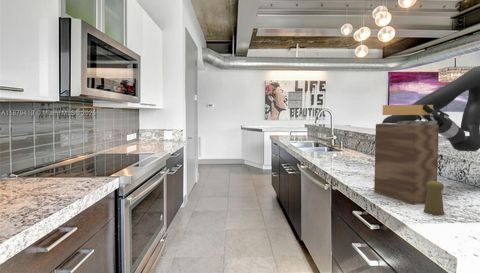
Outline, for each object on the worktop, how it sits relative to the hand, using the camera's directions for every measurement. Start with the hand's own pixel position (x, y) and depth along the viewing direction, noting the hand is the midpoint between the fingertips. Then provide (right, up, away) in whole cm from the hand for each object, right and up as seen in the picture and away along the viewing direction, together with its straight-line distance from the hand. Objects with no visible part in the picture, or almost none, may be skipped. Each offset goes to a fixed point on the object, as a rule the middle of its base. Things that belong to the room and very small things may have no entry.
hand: (418, 106), depth 131 cm
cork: (-8, -39, -23) cm, 46 cm away
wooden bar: (-5, -3, -1) cm, 7 cm away
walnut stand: (-7, -38, -1) cm, 38 cm away
